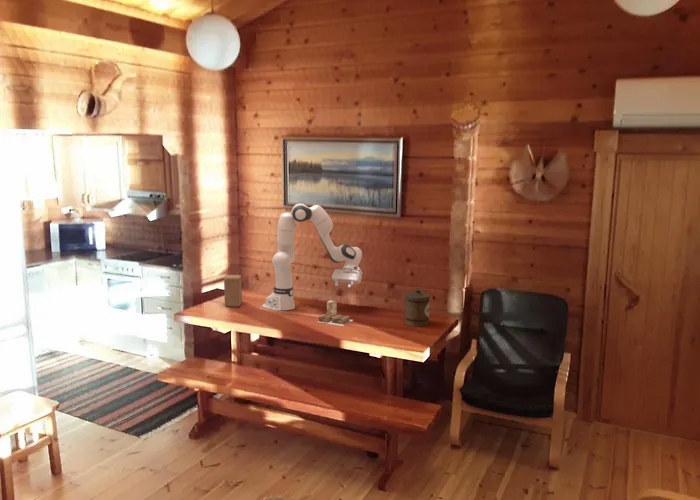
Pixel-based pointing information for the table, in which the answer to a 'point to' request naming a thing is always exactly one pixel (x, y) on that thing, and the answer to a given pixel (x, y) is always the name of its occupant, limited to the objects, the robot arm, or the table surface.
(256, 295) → the table surface
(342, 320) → the walnut slab
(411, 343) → the table surface
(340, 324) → the blueprint board
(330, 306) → the birch pillar
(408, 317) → the wooden container
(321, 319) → the walnut block
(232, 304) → the wooden block
